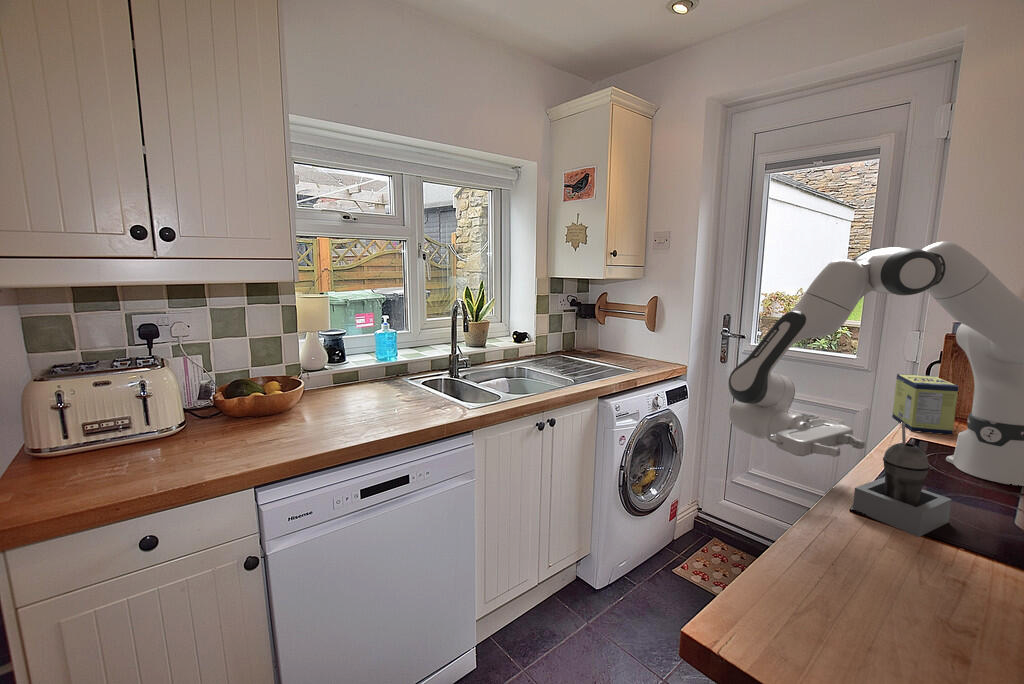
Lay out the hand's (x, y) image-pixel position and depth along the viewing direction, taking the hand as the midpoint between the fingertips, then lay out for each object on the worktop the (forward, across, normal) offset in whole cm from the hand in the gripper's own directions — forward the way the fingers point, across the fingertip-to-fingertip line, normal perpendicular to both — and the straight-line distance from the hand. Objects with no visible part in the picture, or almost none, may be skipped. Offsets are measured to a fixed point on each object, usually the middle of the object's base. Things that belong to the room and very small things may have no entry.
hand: (851, 449), depth 102 cm
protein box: (-17, +71, +11) cm, 74 cm away
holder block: (+10, 0, +11) cm, 15 cm away
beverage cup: (+10, 0, +11) cm, 15 cm away
